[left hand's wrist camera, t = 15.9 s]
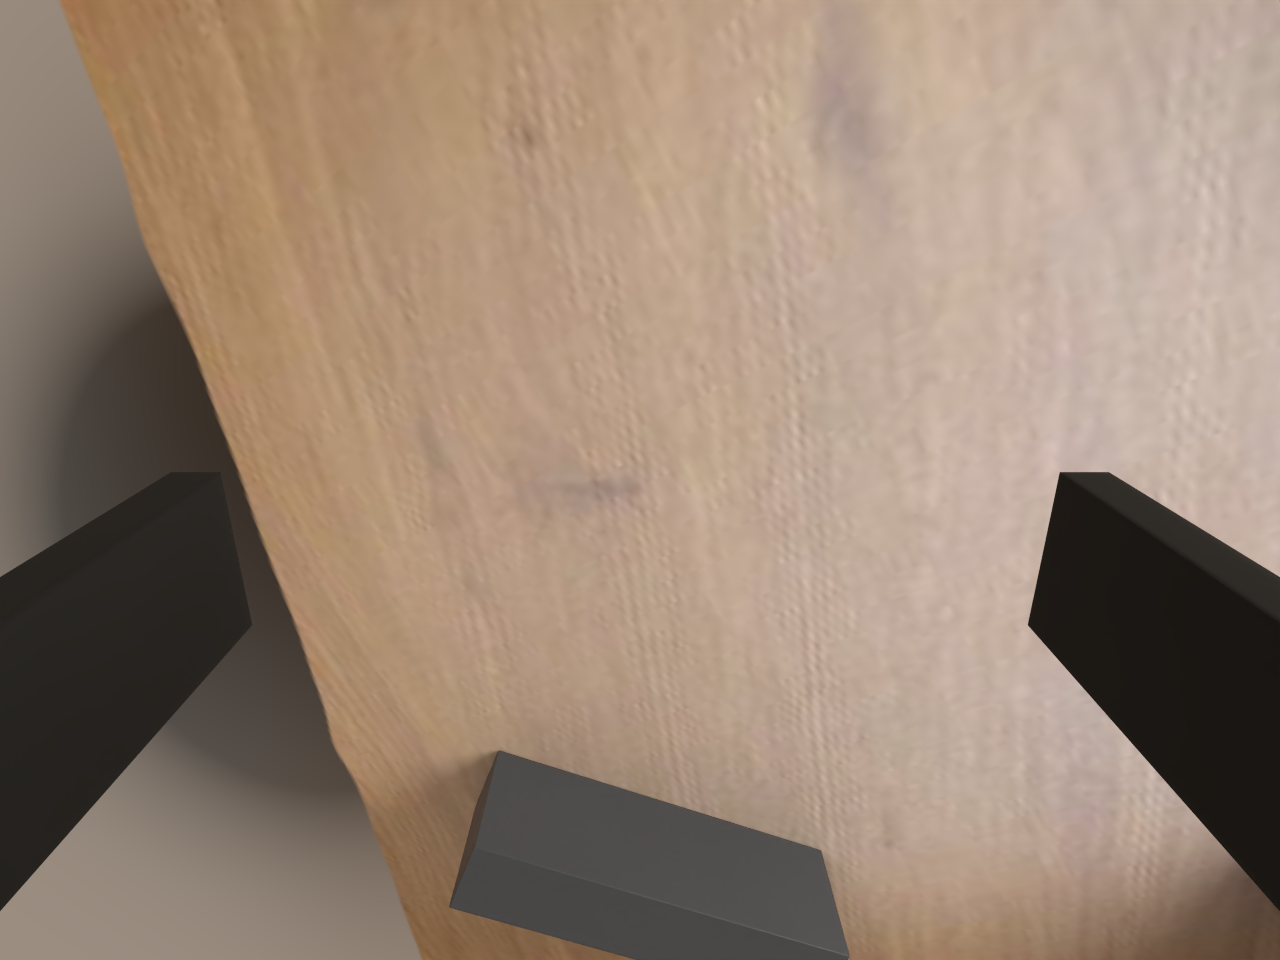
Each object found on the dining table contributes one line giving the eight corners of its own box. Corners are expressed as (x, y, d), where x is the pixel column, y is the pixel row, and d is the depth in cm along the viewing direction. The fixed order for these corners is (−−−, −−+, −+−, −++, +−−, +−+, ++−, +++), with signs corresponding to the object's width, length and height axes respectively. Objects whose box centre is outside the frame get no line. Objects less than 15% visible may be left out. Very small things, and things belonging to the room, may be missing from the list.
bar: (476, 805, 53) (448, 907, 46) (498, 750, 51) (474, 846, 44) (790, 899, 56) (813, 1009, 49) (821, 850, 55) (850, 956, 47)
